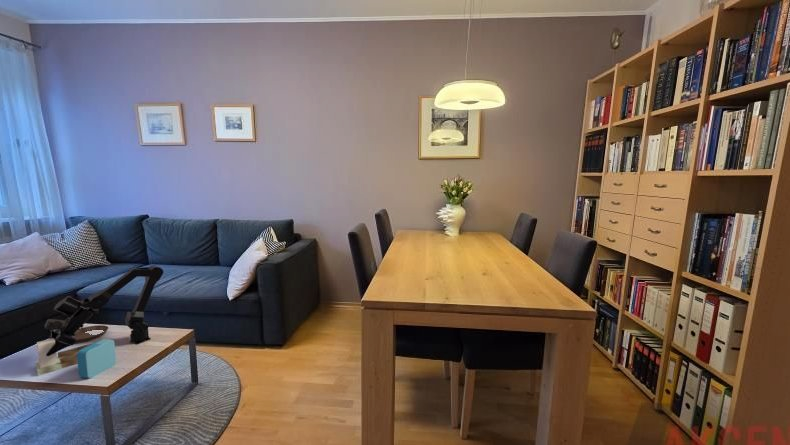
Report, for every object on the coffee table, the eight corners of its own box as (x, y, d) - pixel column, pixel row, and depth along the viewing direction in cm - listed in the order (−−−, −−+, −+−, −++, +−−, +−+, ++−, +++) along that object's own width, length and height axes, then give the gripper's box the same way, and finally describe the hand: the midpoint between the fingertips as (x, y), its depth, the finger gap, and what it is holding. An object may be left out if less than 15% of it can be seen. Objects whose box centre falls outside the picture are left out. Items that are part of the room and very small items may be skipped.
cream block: (55, 359, 144) (53, 338, 143) (57, 363, 141) (55, 341, 140) (39, 364, 140) (36, 342, 139) (40, 368, 137) (38, 345, 136)
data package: (107, 363, 145) (105, 337, 144) (116, 364, 144) (114, 338, 143) (78, 378, 133) (75, 351, 132) (88, 379, 133) (85, 352, 131)
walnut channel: (104, 347, 159) (104, 339, 158) (109, 353, 153) (109, 345, 152) (35, 367, 141) (34, 358, 140) (38, 375, 135) (37, 366, 134)
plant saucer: (92, 328, 180) (92, 323, 180) (117, 332, 176) (116, 326, 176) (53, 343, 163) (52, 337, 163) (79, 347, 159) (78, 341, 159)
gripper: (55, 306, 147) (22, 338, 140) (62, 317, 136) (26, 352, 129) (81, 317, 154) (50, 348, 147) (89, 328, 143) (56, 362, 136)
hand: (45, 352), depth 139 cm, fingers open, 9 cm apart
